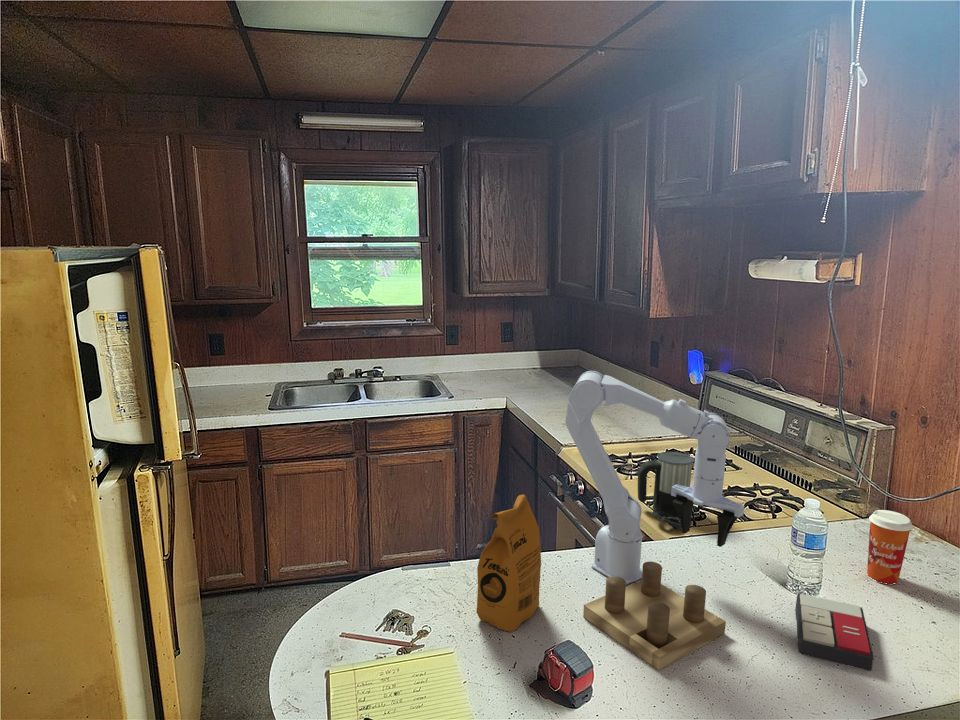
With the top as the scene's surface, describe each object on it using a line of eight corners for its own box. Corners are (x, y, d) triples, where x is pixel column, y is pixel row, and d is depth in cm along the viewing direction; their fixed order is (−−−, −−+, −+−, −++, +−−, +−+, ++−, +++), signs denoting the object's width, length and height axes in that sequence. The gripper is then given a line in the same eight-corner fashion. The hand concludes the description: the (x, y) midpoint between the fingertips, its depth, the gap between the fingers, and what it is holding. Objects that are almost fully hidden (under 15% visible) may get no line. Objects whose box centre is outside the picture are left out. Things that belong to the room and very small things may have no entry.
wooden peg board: (583, 616, 120) (585, 578, 118) (647, 588, 130) (650, 552, 128) (658, 670, 105) (661, 627, 104) (724, 633, 115) (728, 593, 114)
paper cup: (857, 578, 135) (865, 516, 132) (866, 564, 140) (874, 505, 137) (900, 592, 129) (910, 528, 127) (907, 577, 135) (917, 516, 132)
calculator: (800, 637, 109) (797, 589, 123) (798, 658, 110) (794, 609, 124) (874, 654, 105) (862, 603, 118) (871, 676, 106) (859, 623, 119)
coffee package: (467, 618, 119) (468, 509, 115) (504, 589, 129) (506, 487, 125) (512, 638, 113) (515, 524, 109) (547, 606, 123) (550, 500, 119)
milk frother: (676, 501, 172) (680, 449, 169) (713, 527, 157) (718, 470, 155) (629, 507, 168) (633, 454, 165) (663, 534, 153) (667, 476, 150)
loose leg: (640, 647, 111) (643, 606, 110) (654, 640, 113) (657, 599, 112) (656, 658, 108) (660, 616, 107) (670, 651, 110) (674, 609, 109)
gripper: (665, 470, 129) (661, 532, 132) (735, 491, 119) (728, 557, 122) (682, 462, 134) (678, 521, 137) (751, 481, 124) (744, 545, 126)
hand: (703, 538), depth 129 cm, fingers open, 7 cm apart
